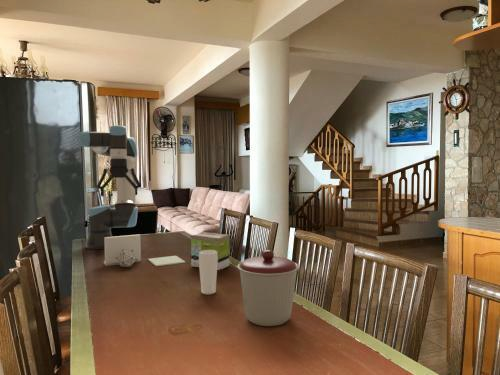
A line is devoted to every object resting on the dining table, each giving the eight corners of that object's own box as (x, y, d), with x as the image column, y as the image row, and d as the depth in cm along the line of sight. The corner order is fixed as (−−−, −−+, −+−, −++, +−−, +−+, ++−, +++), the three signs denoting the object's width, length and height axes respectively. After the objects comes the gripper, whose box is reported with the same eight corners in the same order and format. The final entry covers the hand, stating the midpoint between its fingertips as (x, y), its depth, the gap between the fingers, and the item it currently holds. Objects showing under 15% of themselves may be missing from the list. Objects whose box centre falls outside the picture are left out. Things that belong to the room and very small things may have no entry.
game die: (130, 274, 181) (144, 256, 183) (123, 272, 173) (137, 253, 175) (116, 263, 183) (129, 245, 185) (108, 261, 175) (122, 242, 177)
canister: (262, 304, 131) (262, 241, 129) (310, 318, 119) (310, 249, 118) (225, 321, 117) (224, 251, 115) (275, 338, 105) (275, 260, 104)
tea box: (190, 267, 179) (190, 234, 178) (203, 262, 188) (202, 231, 187) (218, 271, 172) (218, 237, 171) (230, 265, 181) (230, 234, 180)
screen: (103, 263, 187) (103, 236, 186) (138, 259, 194) (137, 233, 193) (105, 266, 181) (105, 238, 180) (140, 261, 189) (140, 235, 188)
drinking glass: (220, 290, 145) (220, 250, 144) (213, 296, 139) (212, 254, 138) (204, 288, 147) (203, 249, 147) (195, 294, 141) (195, 253, 140)
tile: (148, 260, 192) (148, 258, 192) (175, 256, 199) (175, 255, 199) (155, 266, 180) (155, 265, 180) (185, 262, 187) (185, 261, 187)
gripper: (91, 157, 179) (92, 204, 180) (146, 158, 191) (147, 202, 191) (89, 158, 186) (90, 203, 186) (143, 158, 197) (143, 201, 198)
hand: (119, 202), depth 189 cm, fingers open, 13 cm apart
